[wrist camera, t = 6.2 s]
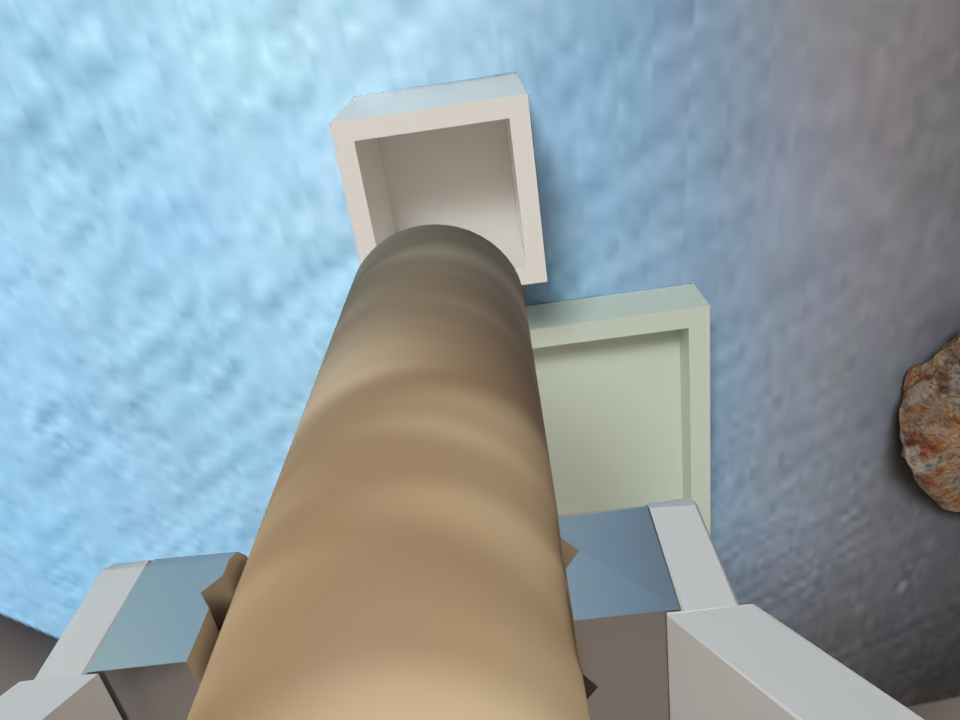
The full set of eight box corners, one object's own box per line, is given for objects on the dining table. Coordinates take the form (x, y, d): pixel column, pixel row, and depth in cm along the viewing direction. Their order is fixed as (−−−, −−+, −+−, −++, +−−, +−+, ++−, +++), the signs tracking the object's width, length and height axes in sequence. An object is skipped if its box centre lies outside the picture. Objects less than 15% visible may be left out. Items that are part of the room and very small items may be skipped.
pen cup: (516, 72, 27) (527, 93, 22) (533, 230, 29) (547, 281, 24) (354, 96, 27) (329, 123, 22) (386, 250, 30) (369, 305, 25)
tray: (693, 283, 30) (710, 305, 28) (696, 519, 36) (710, 552, 34) (398, 323, 31) (393, 347, 29) (444, 549, 36) (443, 584, 34)
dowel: (513, 212, 15) (623, 854, 4) (533, 373, 16) (645, 1131, 6) (332, 237, 15) (-18, 912, 4) (369, 394, 17) (184, 1163, 6)
